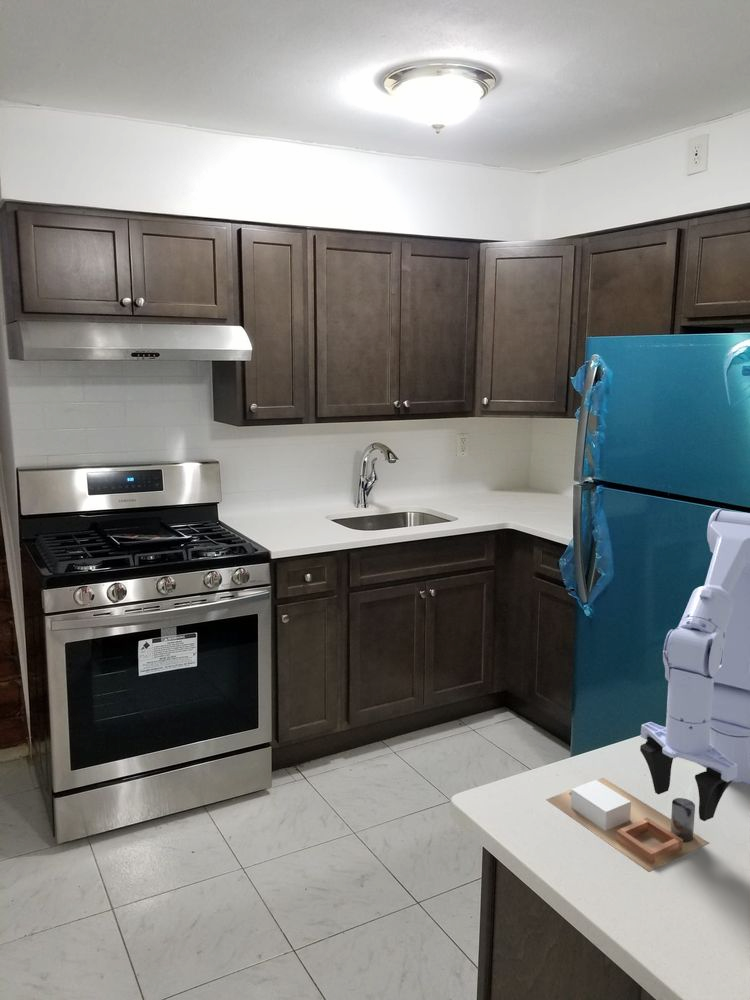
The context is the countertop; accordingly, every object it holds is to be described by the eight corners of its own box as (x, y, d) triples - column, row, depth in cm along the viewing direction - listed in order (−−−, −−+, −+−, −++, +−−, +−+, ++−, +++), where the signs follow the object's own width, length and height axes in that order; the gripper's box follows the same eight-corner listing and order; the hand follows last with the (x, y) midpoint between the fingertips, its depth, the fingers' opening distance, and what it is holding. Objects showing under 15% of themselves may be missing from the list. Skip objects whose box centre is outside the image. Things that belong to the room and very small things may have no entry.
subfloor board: (602, 783, 128) (603, 769, 128) (708, 849, 111) (709, 832, 111) (545, 805, 122) (546, 790, 122) (648, 878, 105) (649, 861, 105)
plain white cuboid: (595, 797, 123) (595, 779, 122) (630, 820, 117) (631, 801, 116) (570, 807, 120) (571, 789, 120) (605, 830, 114) (606, 811, 114)
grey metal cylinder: (680, 827, 115) (682, 795, 114) (697, 838, 112) (699, 805, 111) (665, 833, 113) (667, 802, 112) (683, 845, 111) (685, 812, 110)
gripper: (627, 701, 113) (623, 788, 116) (715, 743, 101) (708, 840, 103) (661, 690, 117) (657, 775, 119) (750, 729, 104) (743, 823, 107)
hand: (683, 804), depth 112 cm, fingers open, 7 cm apart
